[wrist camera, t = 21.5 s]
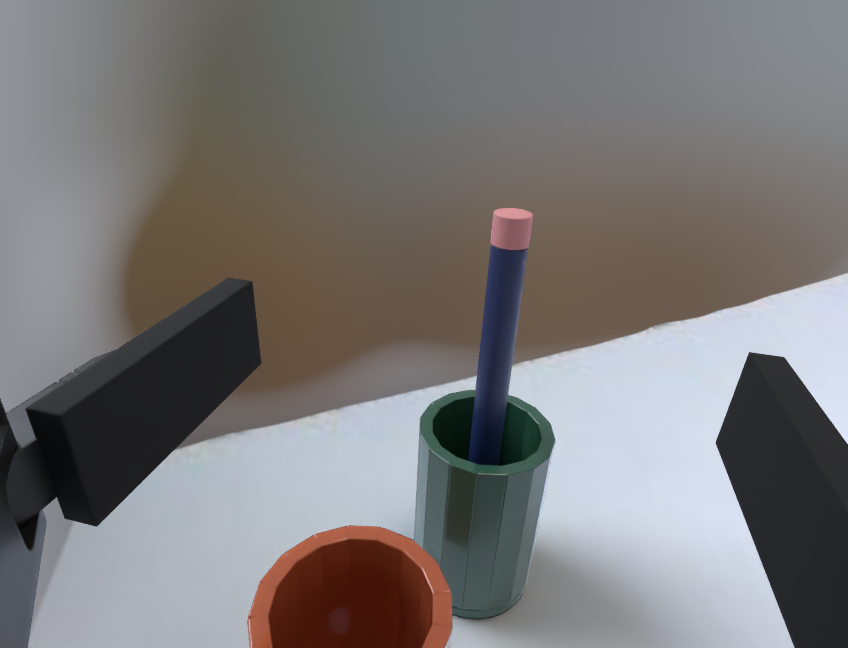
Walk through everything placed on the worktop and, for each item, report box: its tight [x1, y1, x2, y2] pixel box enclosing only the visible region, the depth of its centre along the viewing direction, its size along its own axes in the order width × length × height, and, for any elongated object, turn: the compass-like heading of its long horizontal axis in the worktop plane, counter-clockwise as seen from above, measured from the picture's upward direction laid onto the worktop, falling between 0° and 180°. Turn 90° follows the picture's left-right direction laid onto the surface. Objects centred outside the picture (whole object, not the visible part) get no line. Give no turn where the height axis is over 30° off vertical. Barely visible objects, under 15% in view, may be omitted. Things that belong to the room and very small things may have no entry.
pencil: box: [468, 208, 533, 466], centre depth 24 cm, size 1×1×18 cm
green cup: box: [414, 390, 555, 618], centre depth 26 cm, size 6×6×9 cm
